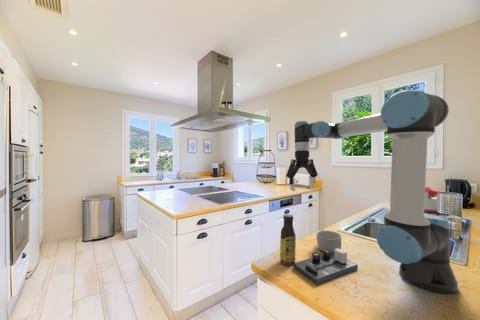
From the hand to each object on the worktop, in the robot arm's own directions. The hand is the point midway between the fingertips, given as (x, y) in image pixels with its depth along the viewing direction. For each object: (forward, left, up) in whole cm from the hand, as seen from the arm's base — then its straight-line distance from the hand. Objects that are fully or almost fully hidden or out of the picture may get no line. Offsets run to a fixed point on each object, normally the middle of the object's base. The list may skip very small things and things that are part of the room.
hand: (302, 189), depth 108 cm
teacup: (-14, -2, -27) cm, 31 cm away
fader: (-27, +6, -25) cm, 37 cm away
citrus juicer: (-2, -132, -27) cm, 135 cm away
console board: (-26, +13, -27) cm, 40 cm away
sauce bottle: (-15, +23, -27) cm, 39 cm away
